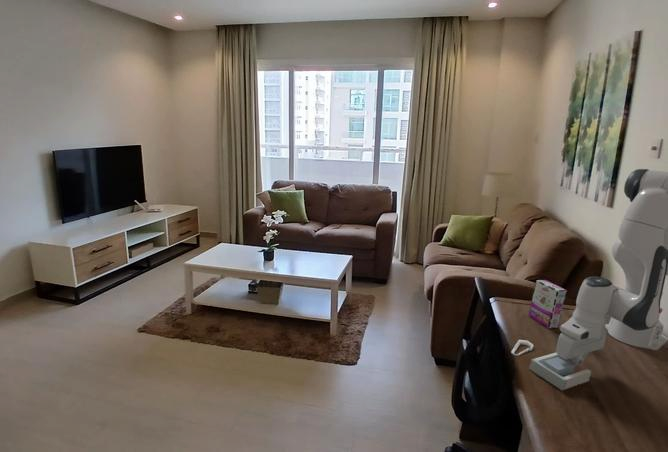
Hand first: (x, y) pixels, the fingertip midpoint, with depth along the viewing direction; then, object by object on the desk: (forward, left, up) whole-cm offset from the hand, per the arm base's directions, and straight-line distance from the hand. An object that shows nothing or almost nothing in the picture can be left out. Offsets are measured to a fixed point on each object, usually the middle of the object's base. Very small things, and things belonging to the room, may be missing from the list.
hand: (576, 364), depth 132 cm
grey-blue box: (+10, 0, -2) cm, 10 cm away
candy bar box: (-20, -27, -2) cm, 34 cm away
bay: (+8, 0, -2) cm, 8 cm away
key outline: (+7, -15, -3) cm, 17 cm away
